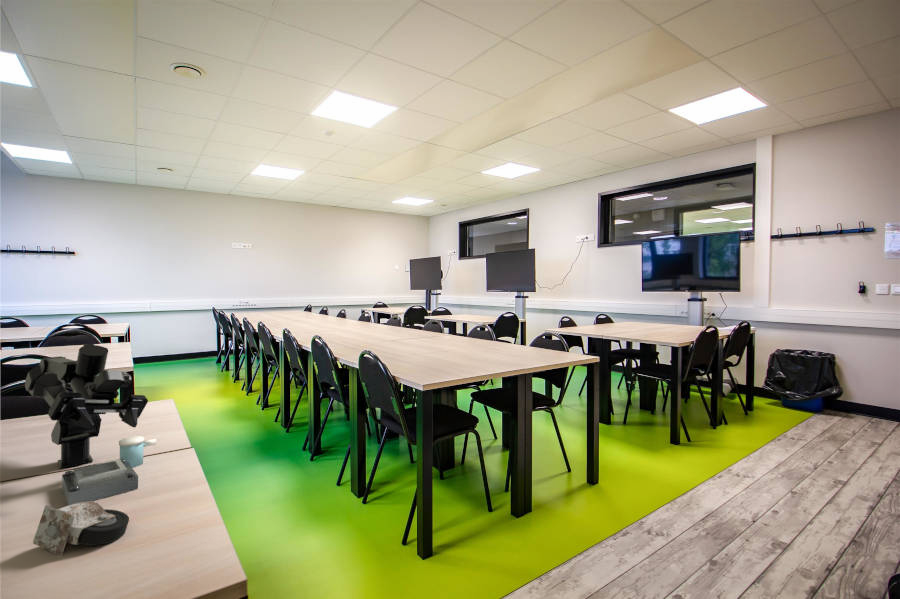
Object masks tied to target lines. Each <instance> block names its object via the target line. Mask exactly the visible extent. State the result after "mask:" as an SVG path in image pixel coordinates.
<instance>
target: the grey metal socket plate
mask: <svg viewBox="0 0 900 599" xmlns="http://www.w3.org/2000/svg"><path fill="white" fill-rule="evenodd" d="M133 468H134V467H133ZM133 468H132V467H131V466H130V465H129V463H128V462H127V461H125V459H122V460H120V458H117V459H112V460H107V461H101V462H98V463H93V464H89V465H88V464H87V465H85V466H79V467H75V468H73V470H68V471H65V472H64V473H63V474H61V488H62V492H63V495H64V498H65V500H66V503H67V506H69V505H72V504H76V503H80V502H86V501H88V502H95V501H98V500H100V499H104V498H108V497H112V496H115V495H119V494H123V493H127V492H130V491H135V490H138V489H139V475H138V474H137V473H136V471H135V470H134V469H133Z"/></svg>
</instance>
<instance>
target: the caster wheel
mask: <svg viewBox="0 0 900 599" xmlns="http://www.w3.org/2000/svg"><path fill="white" fill-rule="evenodd" d="M129 522H130V516H128V514H127V513H125V512H122V511H120V510H116V509H109V508H107V509H106V508H105V509H104V507H102V506H101V504H99V503H97V502H95V501H90V502H88V501H86V502H80V503H76V504H72V505H69V506H68V505H67V506H64V507H60V508H58V509H56V508H54V507H53V506H50V505H47V504H46V505H45V506H44V508H43V511H42V514H41V517H40V521H39V523H38V526H37V529H36V531H35V534H34V537H33V541H32V543H33V545H35V546H37V547H39V548H43V549H44V550H46V551H49V552H51V553H52V554H55V555H57V554H58V556H63V554H64V551H65V547H66V544H70V545H76V546H77V545H78V546H79V545H90V546H93V545H94V546H96V545H103V544H109V543H112V542H115V541H117V540H119V539H121V538H122V537H124V535H125V533H126V531H127V528H128V526H129V525H128V524H129Z"/></svg>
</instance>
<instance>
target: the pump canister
mask: <svg viewBox="0 0 900 599" xmlns="http://www.w3.org/2000/svg"><path fill="white" fill-rule="evenodd" d="M156 445H157V438H152V439H147V440H145V437H144V436H140V435H139V436H138V435H135V436H129V437H125V438H122V439H120V440H119V441H118V446H119V459H120V460H122V459H125V461H127V462H128V463H129V465H130V466H131V467H132V468H136V466H137V467H139V465H140V466H142V465H143V464H144V448H147V447H151V446H156ZM141 464H142V465H141Z"/></svg>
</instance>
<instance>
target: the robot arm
mask: <svg viewBox="0 0 900 599" xmlns="http://www.w3.org/2000/svg"><path fill="white" fill-rule="evenodd" d="M108 356H109V349H108V348H107V347H104V346H101V345H95V343H93V342H92V343H84V344H83V346H81V347H80V348H79V349H78V353H77V358H76V360H74V359H69V358H66V357H65V356H61V355H60V356H51V357H44V358H41V359H40V361H39V364H37V365H36V366H35V367H33V368H32V369H30V370H29V371H28V372H27V375H26V378H25V381H24V387H25V391H26V392H28V393H29V394H30V395H31V396H32V397H35V398H41V399H44V400H45V402H46V403H47V404H48V406H49V409H48V411H47V412H48V413H47V415H48V416H49V418H50V419H49V420H51V421H55V424H54V427H53V429H52V431H51V433H50V436H51V442H52V443H53V444H56V445H58V446H60V459H58V460H57V464H58V467H59V469H65V468H70V467H76V466H78V465H79V466H80V465H83V464H88V463H93V462H94V459H93V457H92V455H91V454H90V450H91V449H90V447H91V446H90V442H91V441H90V439H91V438H94V437H99V435H100V429H101V423H102V418H101V416H100V415H106V414H108V413H111V414H112V413H113V414H115V413H116V414H118V417H119V418H120V419H121V422H123V423H125V424H127V425H128V426H129V427H131V428H136V427H137V425H138V419H139V418H140V417H141V415H142V412H143V411H144V409H145V408H146V406H147V404H148V403H149V400H148V398H147V397H146V396H145V395H143V394H129V395H127V396H126V397H125V399H124V401H123V402H115V398H118V397H119V395H120V393H119V392H118V391H119V389H121V387H122V388H127V387H128V386H129V385H130V384H131V383H132V375H130V374H129V373H128V372H124V371H123V370H113V369H106V364H107V359H108ZM67 384H70V389H71V390H72V392H69V391H68V390H67V388H66V386H67Z"/></svg>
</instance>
